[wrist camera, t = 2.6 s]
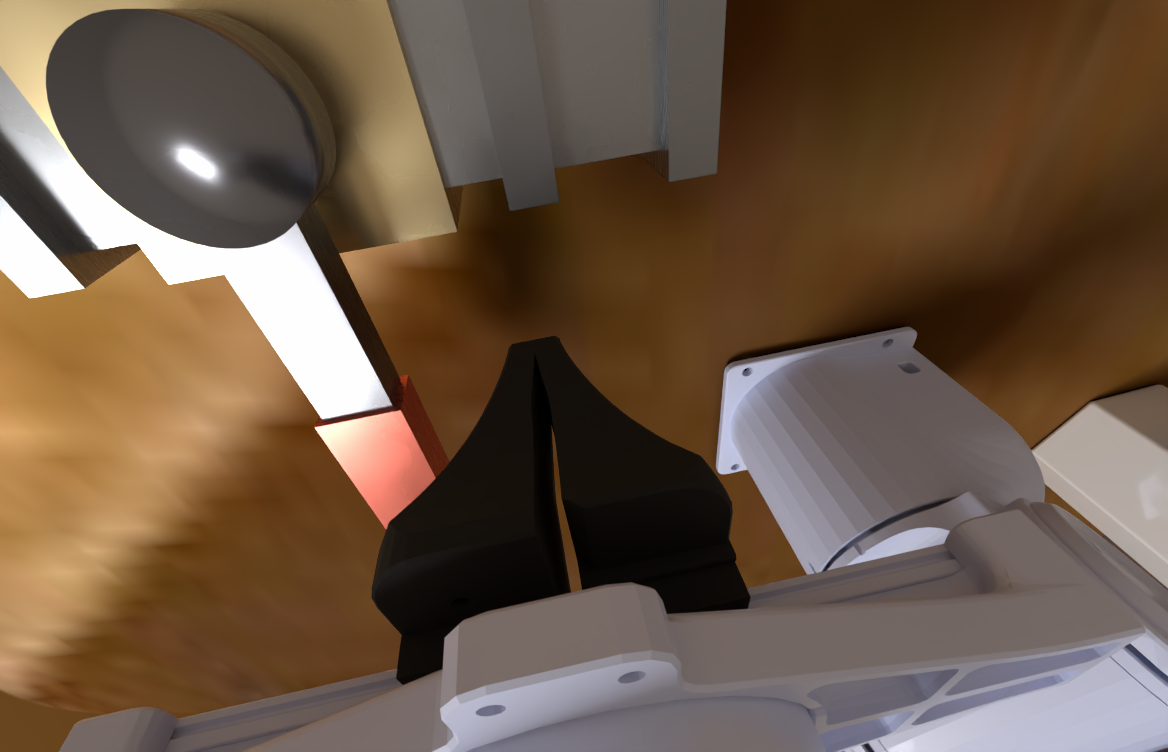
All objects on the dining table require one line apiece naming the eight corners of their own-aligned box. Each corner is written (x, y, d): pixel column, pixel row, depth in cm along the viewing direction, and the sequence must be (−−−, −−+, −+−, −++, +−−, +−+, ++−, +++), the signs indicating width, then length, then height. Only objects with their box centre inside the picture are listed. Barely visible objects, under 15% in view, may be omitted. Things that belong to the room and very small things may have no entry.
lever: (65, 26, 8) (-26, 29, 7) (278, -7, 8) (235, -10, 7) (378, 495, 16) (367, 541, 15) (479, 474, 17) (478, 517, 15)
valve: (651, -113, 12) (736, -177, 8) (656, 143, 16) (715, 190, 12) (-186, 12, 11) (-584, 14, 7) (38, 253, 15) (-134, 346, 11)
